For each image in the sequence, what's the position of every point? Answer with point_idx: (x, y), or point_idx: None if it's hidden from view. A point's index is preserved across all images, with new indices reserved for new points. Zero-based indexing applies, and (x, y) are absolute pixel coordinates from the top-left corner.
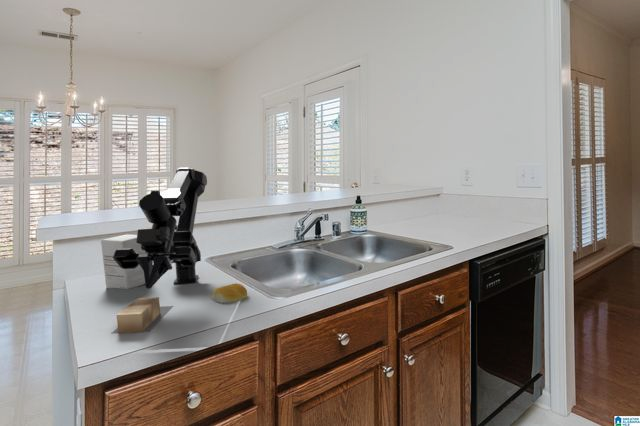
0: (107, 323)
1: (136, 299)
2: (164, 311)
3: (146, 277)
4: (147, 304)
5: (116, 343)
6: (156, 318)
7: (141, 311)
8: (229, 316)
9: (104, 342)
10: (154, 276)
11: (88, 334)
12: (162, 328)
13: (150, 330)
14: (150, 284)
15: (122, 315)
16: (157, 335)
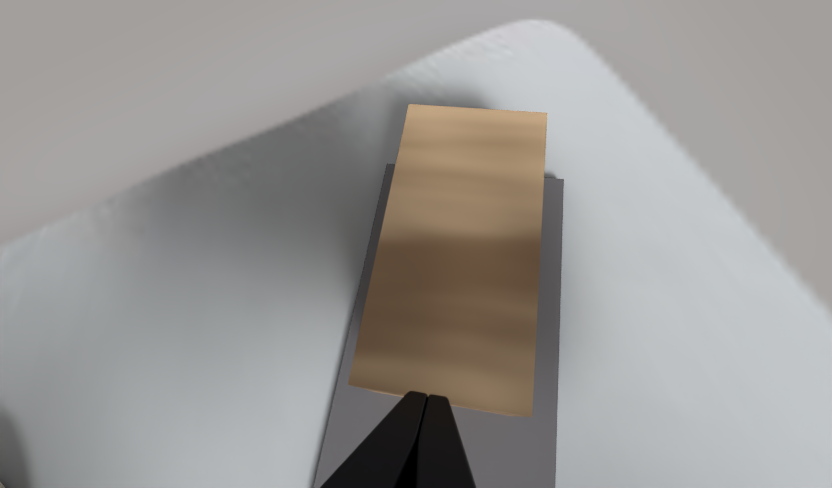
0: (672, 347)
1: (529, 379)
2: (353, 420)
3: (446, 483)
4: (405, 240)
5: None
6: None
7: (413, 133)
8: (40, 274)
9: (558, 130)
10: (326, 486)
11: (692, 220)
12: (342, 210)
13: (385, 173)
14: (395, 409)
15: (512, 115)
16: (353, 150)
